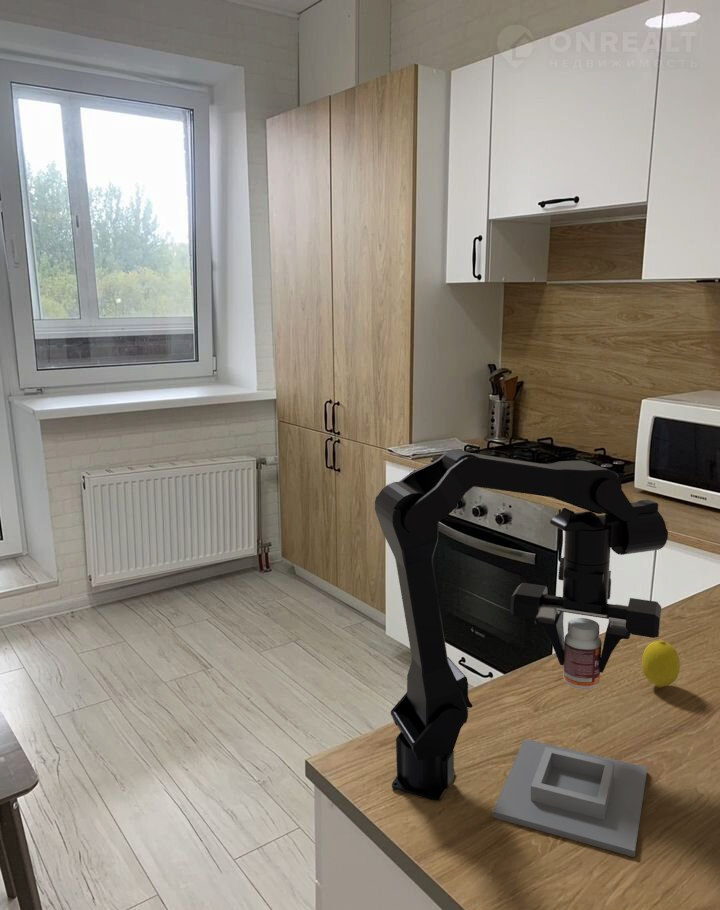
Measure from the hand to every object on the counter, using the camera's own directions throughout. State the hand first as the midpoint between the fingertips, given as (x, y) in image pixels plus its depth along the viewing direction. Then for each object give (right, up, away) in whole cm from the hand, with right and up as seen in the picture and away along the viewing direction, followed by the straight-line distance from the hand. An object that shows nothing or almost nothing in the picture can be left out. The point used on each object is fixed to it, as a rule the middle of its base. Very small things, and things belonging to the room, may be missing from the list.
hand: (581, 667), depth 98 cm
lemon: (+17, -8, +16) cm, 25 cm away
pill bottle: (0, -2, 0) cm, 2 cm away
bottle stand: (-3, -14, -8) cm, 16 cm away
